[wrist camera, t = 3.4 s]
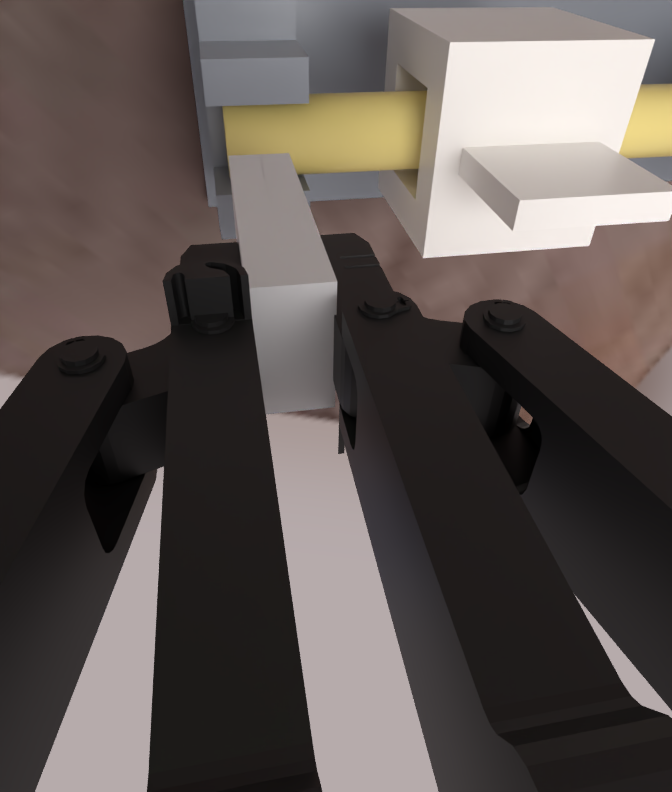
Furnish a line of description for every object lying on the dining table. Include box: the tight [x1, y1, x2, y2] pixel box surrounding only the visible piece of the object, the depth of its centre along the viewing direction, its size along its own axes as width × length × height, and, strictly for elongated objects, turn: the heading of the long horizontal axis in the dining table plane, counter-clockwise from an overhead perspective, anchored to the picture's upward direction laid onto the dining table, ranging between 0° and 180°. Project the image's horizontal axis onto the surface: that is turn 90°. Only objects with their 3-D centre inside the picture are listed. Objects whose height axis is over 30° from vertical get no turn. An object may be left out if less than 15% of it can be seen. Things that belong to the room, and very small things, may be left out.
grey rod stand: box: [183, 0, 672, 239], centre depth 23 cm, size 26×11×12 cm, turn 89°
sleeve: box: [378, 7, 672, 258], centre depth 19 cm, size 6×6×10 cm
